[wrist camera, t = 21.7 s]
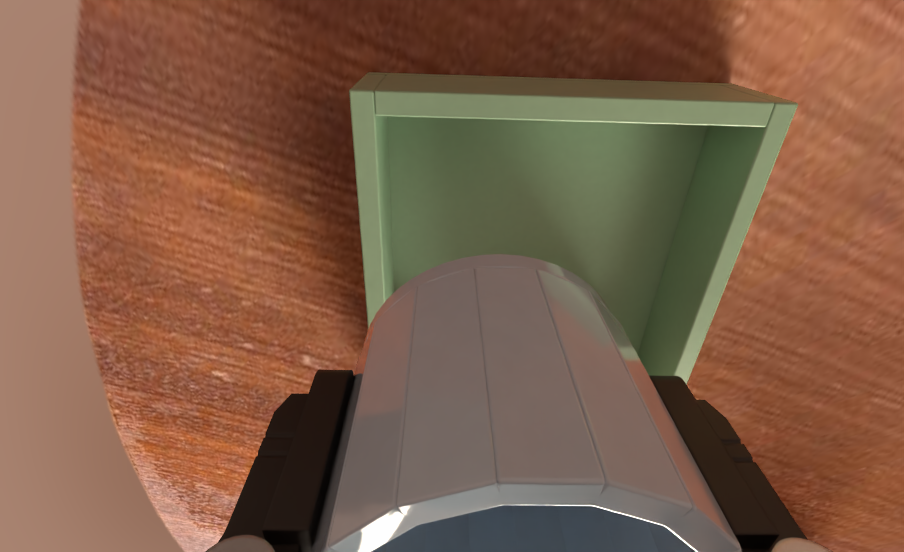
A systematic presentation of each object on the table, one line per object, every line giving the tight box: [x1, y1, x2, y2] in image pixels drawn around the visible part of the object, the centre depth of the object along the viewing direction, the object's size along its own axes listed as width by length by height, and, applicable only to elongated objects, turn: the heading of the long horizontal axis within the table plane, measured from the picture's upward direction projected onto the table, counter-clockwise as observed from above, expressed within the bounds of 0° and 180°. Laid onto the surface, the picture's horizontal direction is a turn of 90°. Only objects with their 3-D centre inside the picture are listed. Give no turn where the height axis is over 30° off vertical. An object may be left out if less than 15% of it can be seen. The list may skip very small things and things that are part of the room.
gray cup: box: [311, 254, 742, 552], centre depth 9 cm, size 6×6×6 cm
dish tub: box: [349, 72, 798, 384], centre depth 21 cm, size 15×17×4 cm
